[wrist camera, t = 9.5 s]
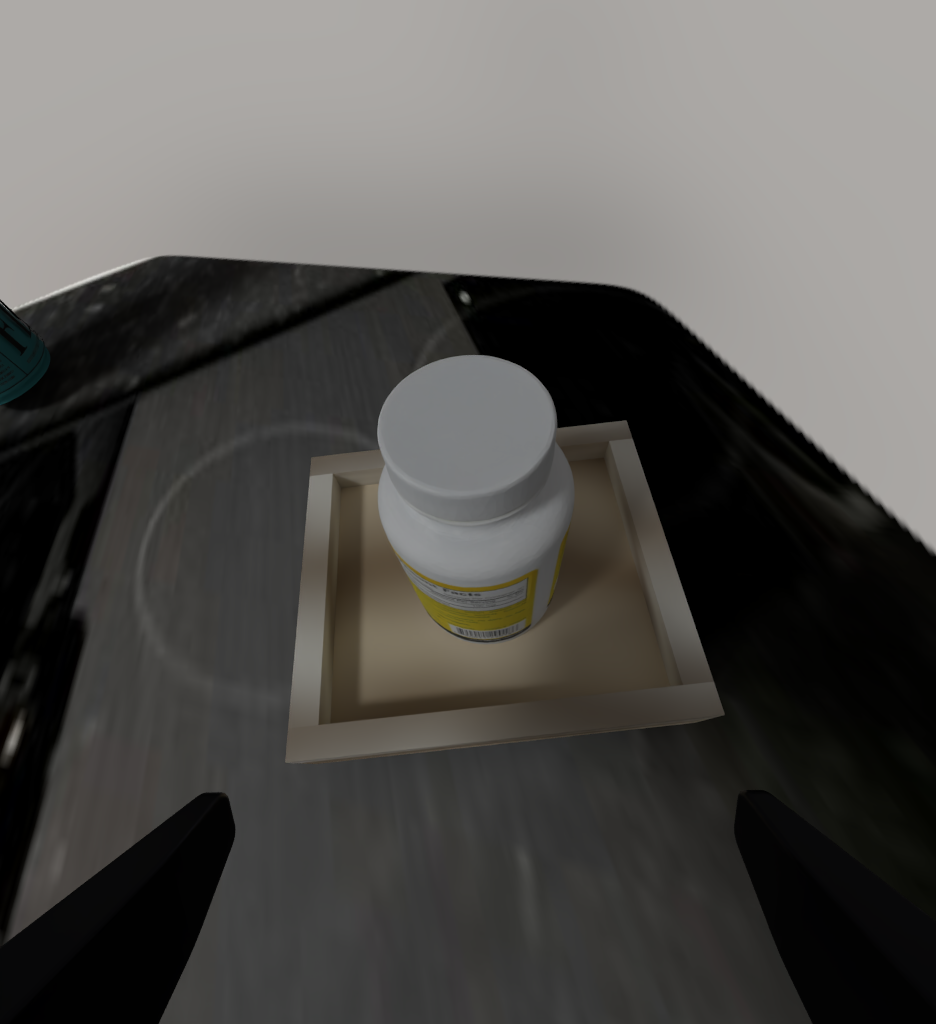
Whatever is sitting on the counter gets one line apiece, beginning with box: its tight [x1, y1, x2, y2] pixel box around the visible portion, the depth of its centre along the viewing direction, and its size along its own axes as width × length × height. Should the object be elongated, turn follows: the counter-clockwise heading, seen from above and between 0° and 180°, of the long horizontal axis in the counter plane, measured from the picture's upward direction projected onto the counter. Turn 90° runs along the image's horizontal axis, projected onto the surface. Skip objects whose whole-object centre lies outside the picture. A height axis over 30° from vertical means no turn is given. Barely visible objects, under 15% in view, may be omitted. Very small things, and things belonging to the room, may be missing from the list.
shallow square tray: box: [285, 421, 725, 764], centre depth 20 cm, size 12×14×5 cm
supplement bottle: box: [378, 355, 575, 644], centre depth 14 cm, size 5×5×10 cm
